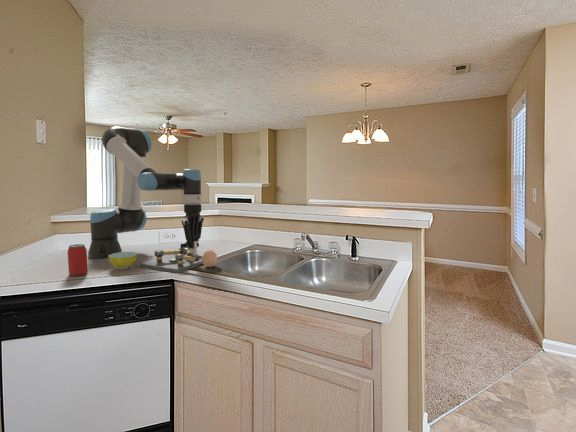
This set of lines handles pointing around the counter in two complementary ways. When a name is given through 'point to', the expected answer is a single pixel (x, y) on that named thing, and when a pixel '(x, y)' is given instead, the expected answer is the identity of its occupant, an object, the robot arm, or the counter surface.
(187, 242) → the scope
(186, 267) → the base
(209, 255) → the egg
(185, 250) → the knob
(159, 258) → the knob near
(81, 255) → the beer can
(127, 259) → the bowl
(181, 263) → the knob
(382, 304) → the counter surface
